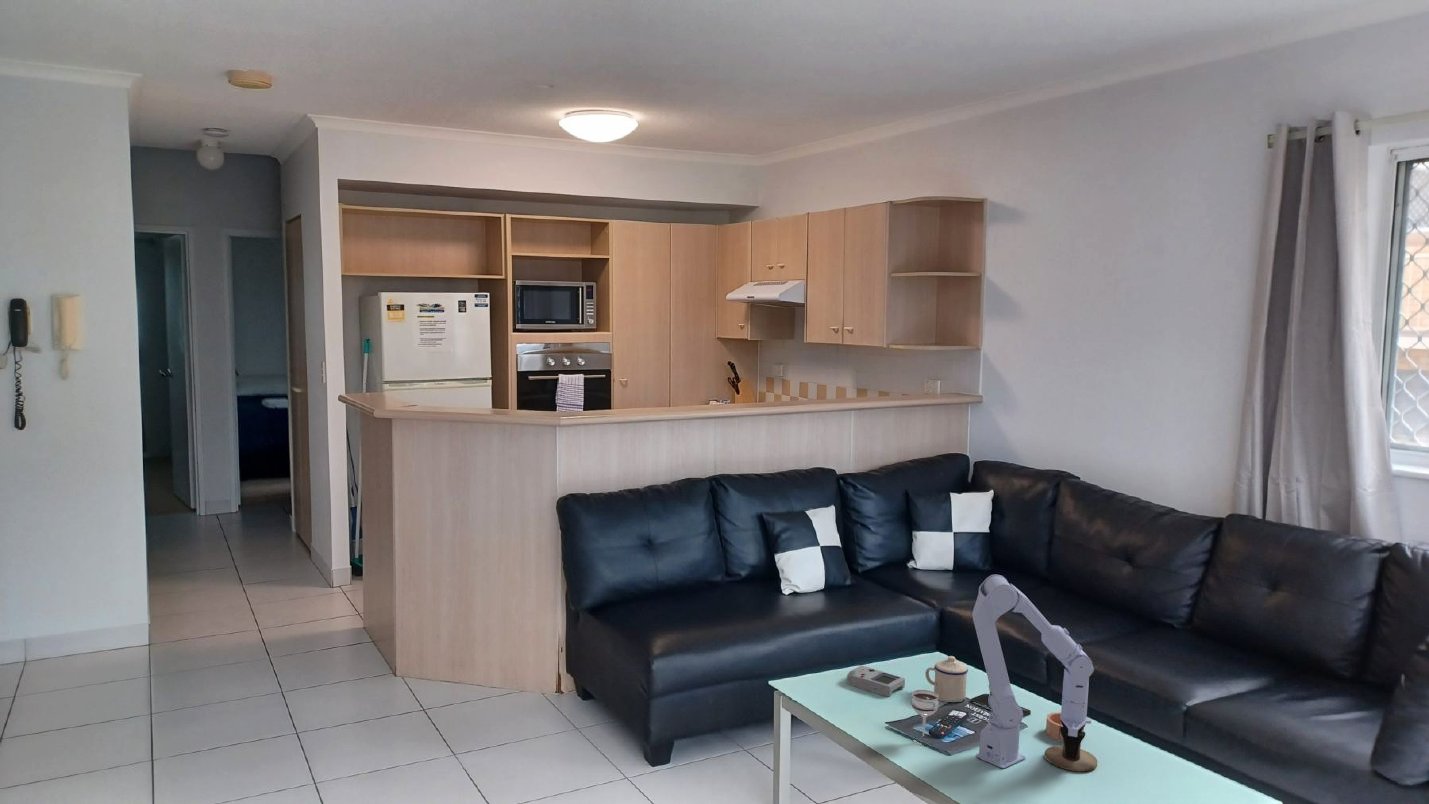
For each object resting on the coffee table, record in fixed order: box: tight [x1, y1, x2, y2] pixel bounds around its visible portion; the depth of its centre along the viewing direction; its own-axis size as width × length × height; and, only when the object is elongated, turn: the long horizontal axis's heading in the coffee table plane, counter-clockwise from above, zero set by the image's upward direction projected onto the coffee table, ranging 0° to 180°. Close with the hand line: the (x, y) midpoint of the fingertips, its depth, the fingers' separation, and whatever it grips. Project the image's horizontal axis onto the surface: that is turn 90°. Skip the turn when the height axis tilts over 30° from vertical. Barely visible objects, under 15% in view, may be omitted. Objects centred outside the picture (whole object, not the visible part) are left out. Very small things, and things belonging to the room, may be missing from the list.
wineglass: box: [910, 689, 940, 747], centre depth 240 cm, size 7×7×12 cm
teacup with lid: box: [925, 655, 969, 703], centre depth 269 cm, size 12×9×12 cm
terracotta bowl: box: [1045, 711, 1085, 743], centre depth 246 cm, size 9×9×4 cm
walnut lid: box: [1044, 740, 1099, 772], centre depth 231 cm, size 12×12×5 cm
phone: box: [970, 693, 1032, 718], centre depth 262 cm, size 8×1×15 cm
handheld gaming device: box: [846, 665, 906, 697], centre depth 275 cm, size 9×15×4 cm, turn 50°
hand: (1071, 753), depth 231 cm, fingers closed on walnut lid, 4 cm apart
